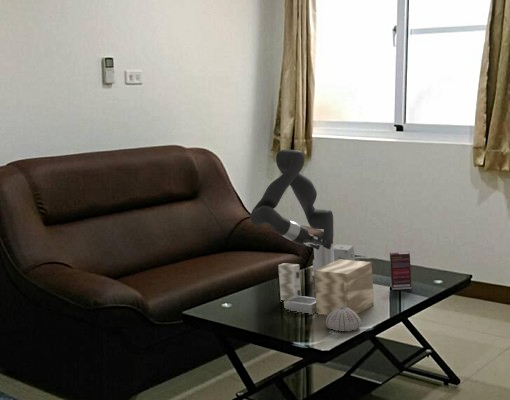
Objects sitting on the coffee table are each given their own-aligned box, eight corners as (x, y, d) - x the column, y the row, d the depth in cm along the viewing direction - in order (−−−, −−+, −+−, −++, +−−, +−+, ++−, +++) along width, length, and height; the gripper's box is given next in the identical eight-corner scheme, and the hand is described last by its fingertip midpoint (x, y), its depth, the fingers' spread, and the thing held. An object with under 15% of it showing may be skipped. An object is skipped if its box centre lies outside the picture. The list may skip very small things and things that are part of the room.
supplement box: (410, 286, 350) (409, 251, 348) (411, 289, 346) (410, 253, 343) (390, 287, 351) (389, 252, 349) (391, 290, 347) (390, 254, 344)
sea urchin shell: (334, 321, 309) (333, 301, 308) (367, 324, 302) (366, 304, 301) (320, 332, 298) (318, 311, 297) (353, 335, 291) (352, 314, 290)
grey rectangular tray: (284, 310, 327) (283, 301, 327) (297, 304, 335) (296, 295, 334) (311, 314, 319) (311, 305, 319) (324, 308, 327) (323, 298, 326)
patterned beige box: (312, 313, 321) (309, 269, 318) (337, 300, 337) (335, 258, 334) (349, 318, 311) (346, 273, 308) (373, 304, 327) (371, 262, 324)
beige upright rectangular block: (280, 301, 341) (278, 265, 339) (286, 298, 345) (283, 262, 342) (298, 303, 336) (295, 266, 334) (303, 301, 339) (301, 264, 337)
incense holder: (330, 267, 394) (329, 247, 392) (338, 263, 401) (337, 243, 399) (348, 269, 388) (347, 248, 387) (356, 265, 395) (355, 244, 394)
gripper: (306, 222, 322) (337, 238, 329) (288, 224, 335) (318, 239, 342) (300, 239, 320) (331, 255, 327) (282, 240, 333) (312, 255, 340)
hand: (324, 247), depth 334 cm, fingers open, 8 cm apart
